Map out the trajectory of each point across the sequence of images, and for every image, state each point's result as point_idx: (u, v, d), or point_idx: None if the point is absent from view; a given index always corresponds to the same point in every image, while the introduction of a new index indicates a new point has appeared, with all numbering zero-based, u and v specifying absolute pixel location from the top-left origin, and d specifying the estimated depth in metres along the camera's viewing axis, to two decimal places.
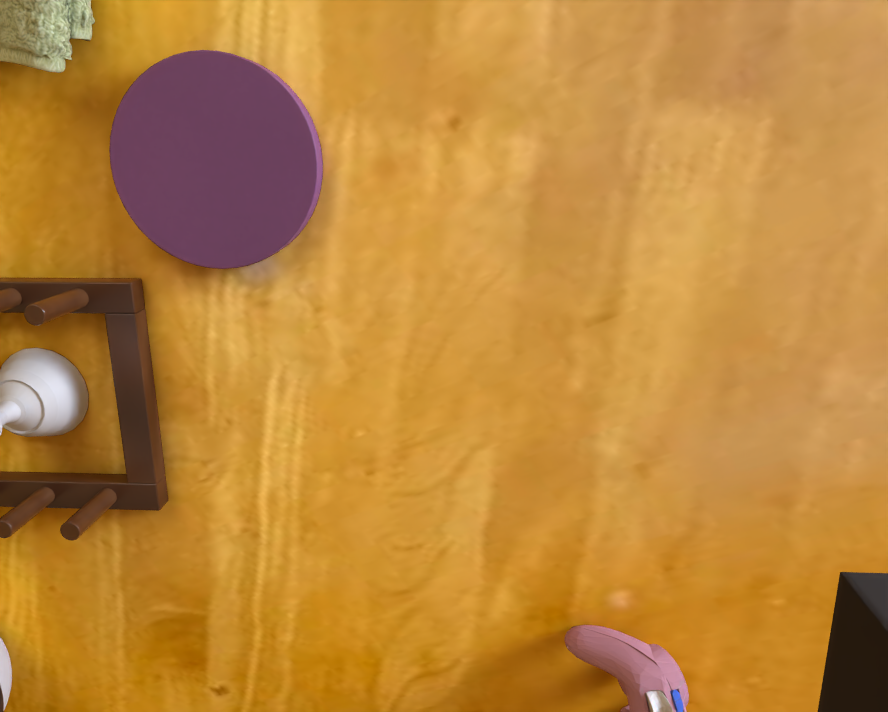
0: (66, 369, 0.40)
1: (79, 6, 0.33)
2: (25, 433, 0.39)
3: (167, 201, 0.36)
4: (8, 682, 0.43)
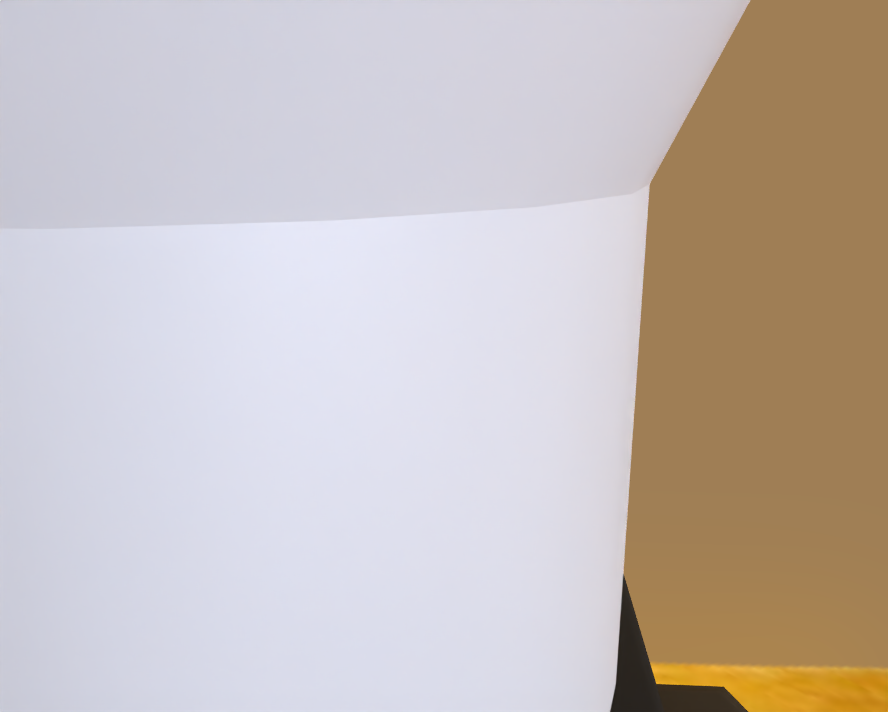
0: None
1: None
2: None
3: None
4: None
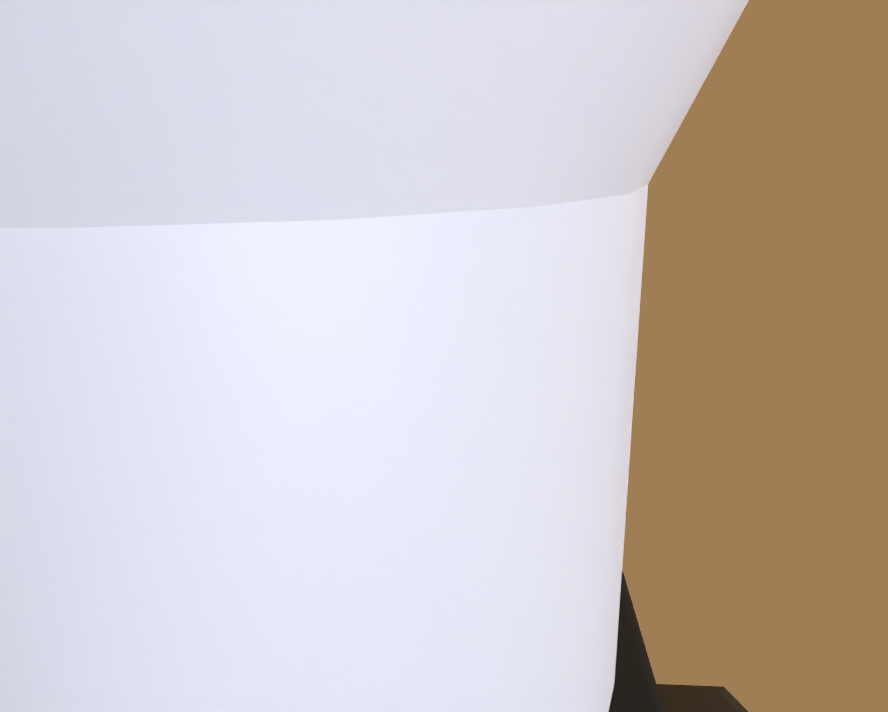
0: None
1: None
2: None
3: None
4: None
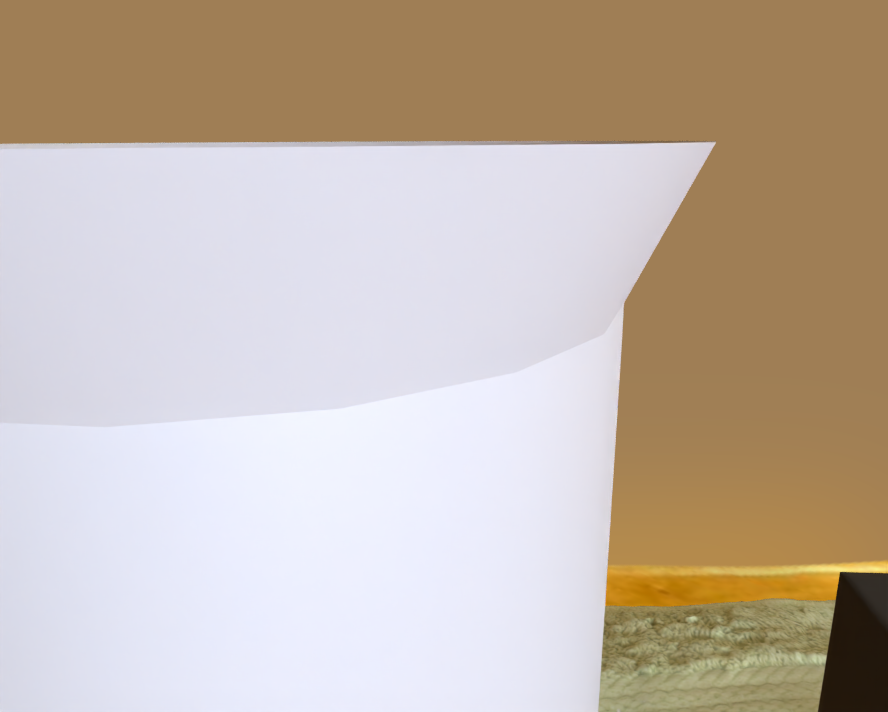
0: None
1: None
2: None
3: None
4: None
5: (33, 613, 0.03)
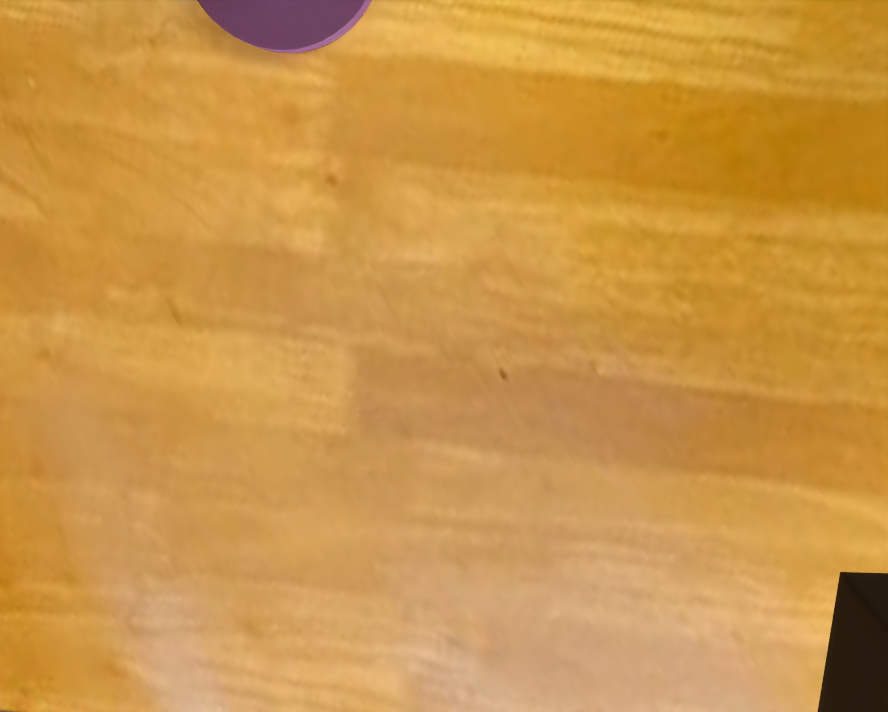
0: None
1: None
2: None
3: None
4: None
5: None
